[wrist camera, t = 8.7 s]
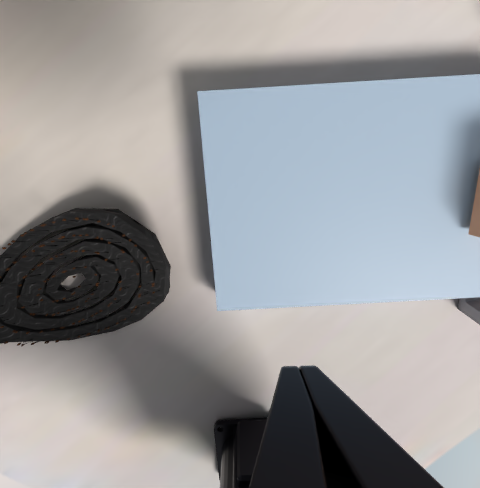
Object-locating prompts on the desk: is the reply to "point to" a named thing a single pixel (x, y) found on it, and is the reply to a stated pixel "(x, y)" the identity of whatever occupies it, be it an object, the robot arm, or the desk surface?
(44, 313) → the black spiral-grooved part
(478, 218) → the tile
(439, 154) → the board
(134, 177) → the desk surface
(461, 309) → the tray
